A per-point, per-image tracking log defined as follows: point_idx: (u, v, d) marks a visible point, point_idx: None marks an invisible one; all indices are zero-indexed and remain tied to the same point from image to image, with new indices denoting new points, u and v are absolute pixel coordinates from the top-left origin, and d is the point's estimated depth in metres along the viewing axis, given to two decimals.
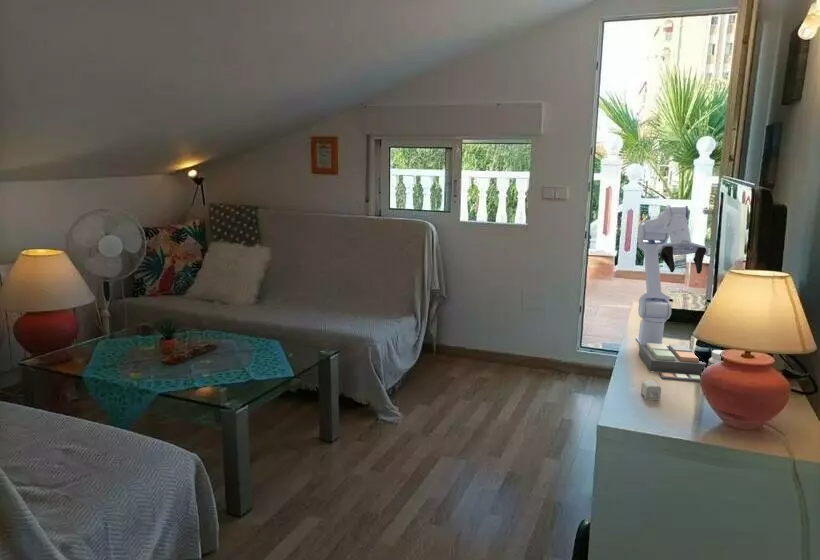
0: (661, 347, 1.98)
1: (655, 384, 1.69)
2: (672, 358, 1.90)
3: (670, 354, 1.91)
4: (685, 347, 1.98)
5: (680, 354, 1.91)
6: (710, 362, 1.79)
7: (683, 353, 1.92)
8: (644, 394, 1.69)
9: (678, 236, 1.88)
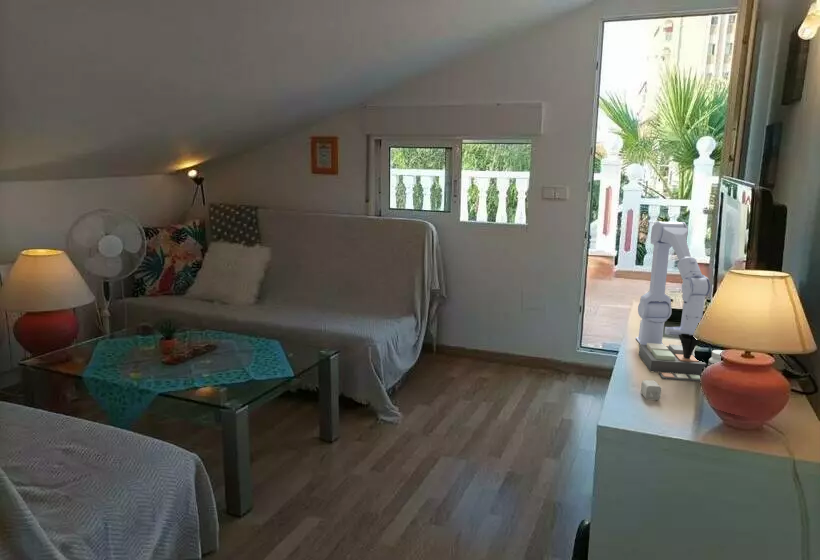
0: (661, 347, 1.98)
1: (655, 384, 1.69)
2: (672, 358, 1.90)
3: (670, 354, 1.91)
4: None
5: (680, 357, 1.92)
6: (710, 362, 1.79)
7: (683, 356, 1.93)
8: (644, 394, 1.69)
9: (688, 324, 1.87)
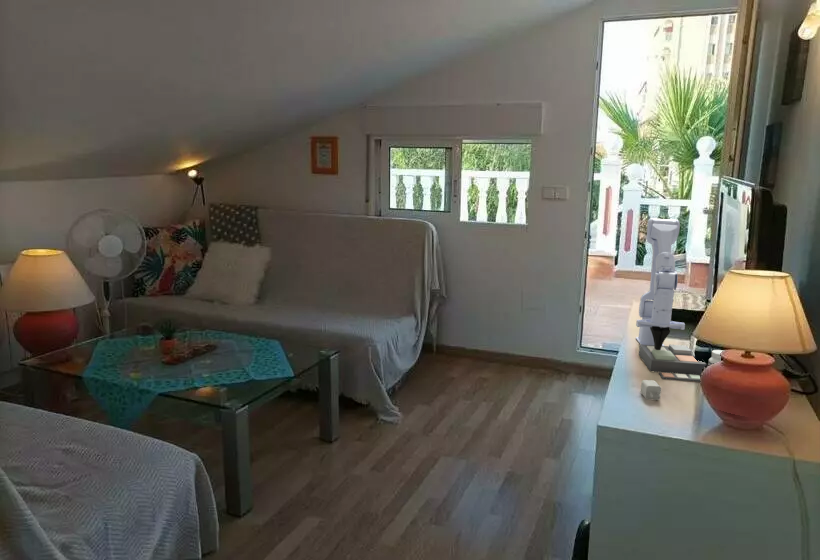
0: None
1: (655, 384, 1.69)
2: (672, 358, 1.90)
3: (670, 354, 1.91)
4: (685, 347, 1.98)
5: (680, 358, 1.92)
6: (710, 362, 1.79)
7: (683, 357, 1.93)
8: (644, 394, 1.69)
9: (658, 317, 1.95)
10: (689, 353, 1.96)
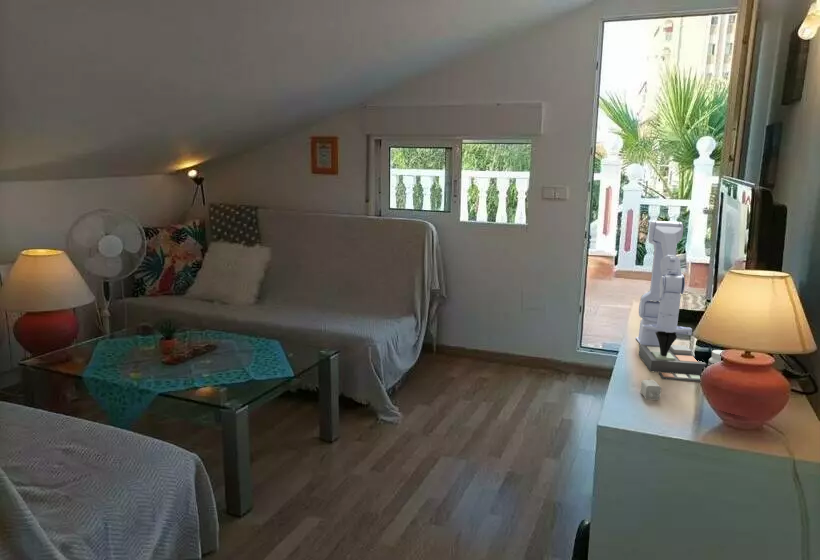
0: None
1: (655, 384, 1.69)
2: None
3: (670, 356, 1.91)
4: (685, 347, 1.98)
5: (680, 358, 1.92)
6: (710, 362, 1.79)
7: (683, 357, 1.93)
8: (644, 394, 1.69)
9: (665, 322, 1.88)
10: (689, 353, 1.96)
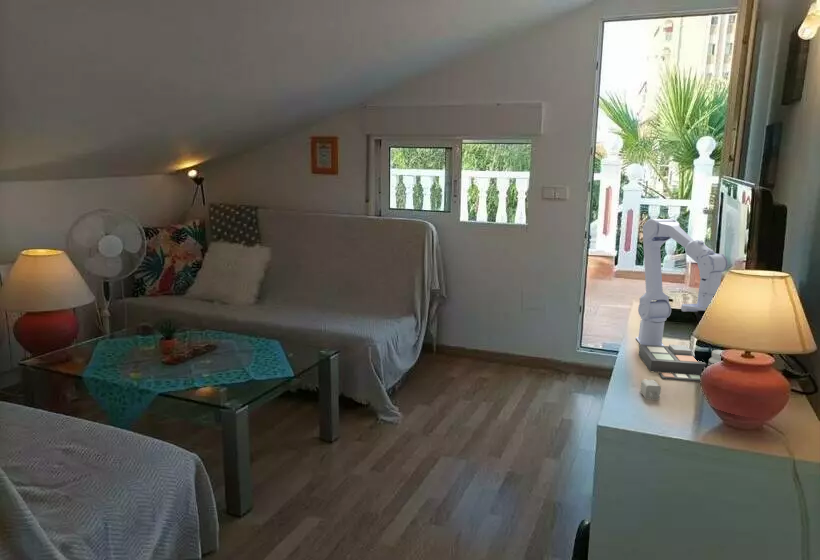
0: (661, 351, 1.98)
1: (654, 383, 1.69)
2: None
3: (670, 358, 1.91)
4: (685, 347, 1.98)
5: (680, 358, 1.92)
6: (710, 362, 1.79)
7: (683, 357, 1.93)
8: (644, 393, 1.69)
9: (705, 301, 1.89)
10: (689, 353, 1.96)
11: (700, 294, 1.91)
